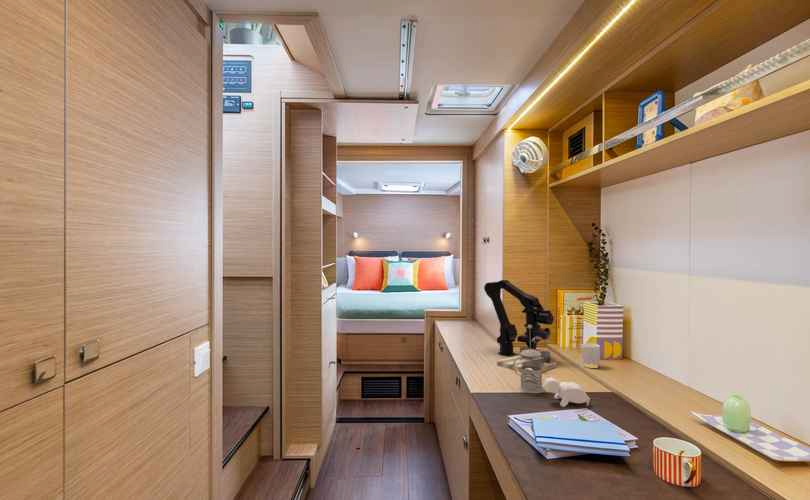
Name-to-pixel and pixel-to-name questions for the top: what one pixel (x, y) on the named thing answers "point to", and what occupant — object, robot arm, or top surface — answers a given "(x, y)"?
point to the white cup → (590, 353)
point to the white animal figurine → (566, 391)
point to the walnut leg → (543, 353)
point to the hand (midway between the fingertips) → (532, 353)
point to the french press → (530, 372)
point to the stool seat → (518, 364)
